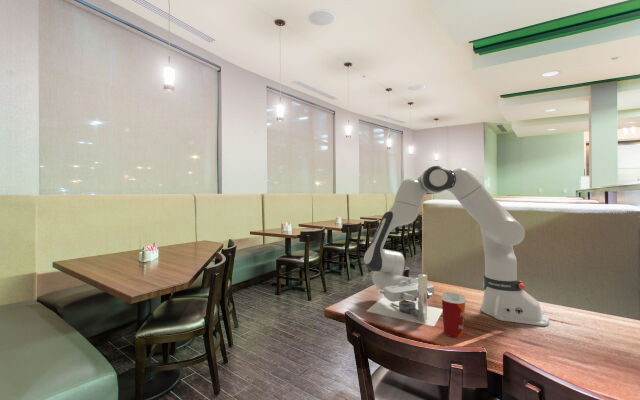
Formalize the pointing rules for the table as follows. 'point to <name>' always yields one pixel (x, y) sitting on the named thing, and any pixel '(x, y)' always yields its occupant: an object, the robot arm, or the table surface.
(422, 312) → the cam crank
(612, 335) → the table surface
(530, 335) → the table surface
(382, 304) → the board
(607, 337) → the table surface
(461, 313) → the paper cup
